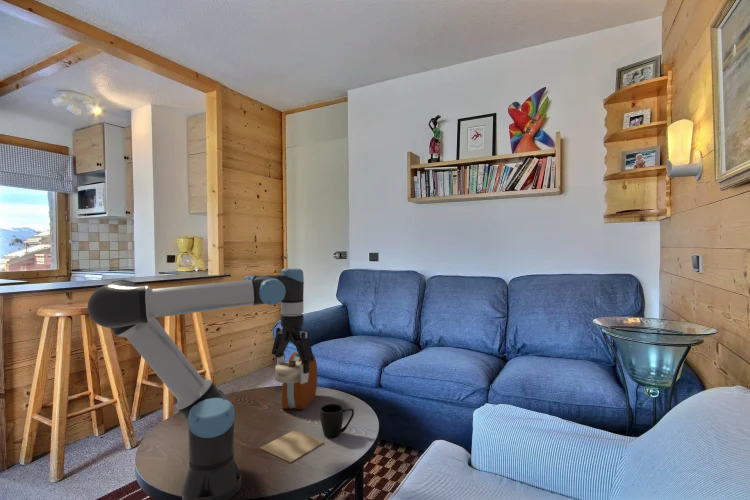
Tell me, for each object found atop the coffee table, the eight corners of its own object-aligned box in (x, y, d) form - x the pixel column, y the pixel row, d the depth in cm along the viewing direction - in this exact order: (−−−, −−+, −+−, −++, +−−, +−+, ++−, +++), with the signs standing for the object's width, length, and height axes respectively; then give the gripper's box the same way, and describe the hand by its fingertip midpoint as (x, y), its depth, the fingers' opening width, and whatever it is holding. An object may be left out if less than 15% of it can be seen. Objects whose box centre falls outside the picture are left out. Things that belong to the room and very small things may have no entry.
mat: (290, 463, 119) (290, 462, 119) (259, 448, 128) (259, 447, 128) (323, 443, 132) (323, 442, 132) (293, 431, 140) (293, 430, 140)
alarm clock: (297, 392, 179) (297, 343, 179) (317, 393, 177) (317, 344, 177) (277, 412, 157) (276, 357, 157) (300, 413, 155) (299, 358, 155)
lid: (290, 385, 122) (290, 368, 122) (268, 378, 129) (268, 362, 129) (315, 376, 131) (315, 360, 131) (293, 370, 138) (293, 355, 138)
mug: (354, 439, 134) (354, 412, 134) (319, 440, 133) (319, 413, 133) (353, 428, 143) (353, 402, 143) (321, 429, 141) (320, 404, 141)
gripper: (325, 316, 126) (324, 383, 126) (278, 309, 140) (278, 369, 140) (308, 319, 120) (308, 389, 120) (261, 312, 134) (260, 375, 134)
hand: (292, 379), depth 130 cm, fingers closed on lid, 11 cm apart
